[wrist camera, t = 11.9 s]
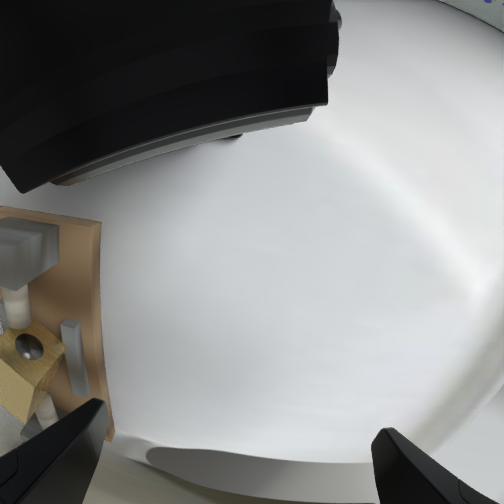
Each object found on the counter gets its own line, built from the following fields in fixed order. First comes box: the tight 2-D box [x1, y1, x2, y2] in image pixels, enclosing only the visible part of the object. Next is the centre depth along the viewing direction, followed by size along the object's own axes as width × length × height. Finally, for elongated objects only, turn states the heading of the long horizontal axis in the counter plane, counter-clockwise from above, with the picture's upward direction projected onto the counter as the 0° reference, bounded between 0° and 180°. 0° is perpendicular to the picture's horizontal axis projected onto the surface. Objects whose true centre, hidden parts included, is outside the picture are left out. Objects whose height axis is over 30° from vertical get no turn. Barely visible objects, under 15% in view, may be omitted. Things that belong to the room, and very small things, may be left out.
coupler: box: [0, 317, 67, 425], centre depth 16 cm, size 6×4×5 cm, turn 143°
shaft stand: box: [0, 206, 115, 442], centre depth 17 cm, size 21×10×6 cm, turn 170°
